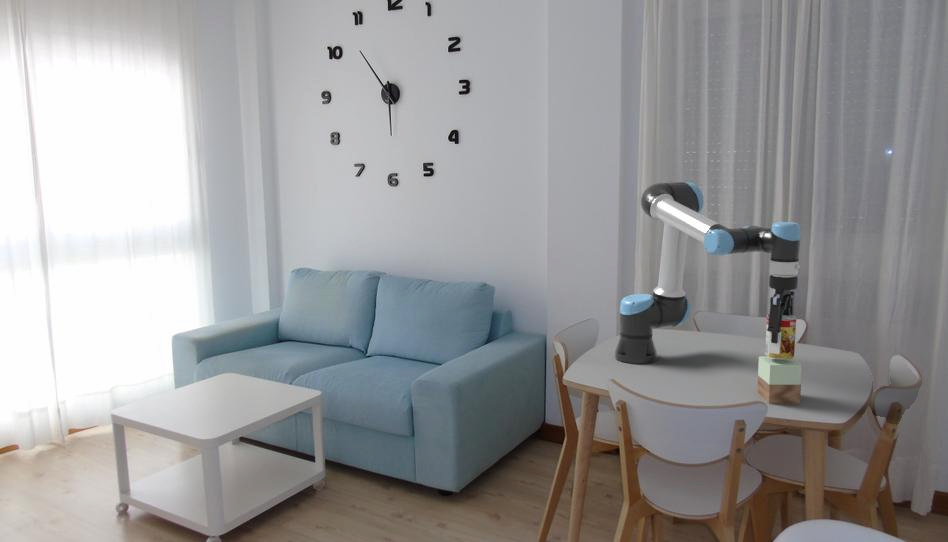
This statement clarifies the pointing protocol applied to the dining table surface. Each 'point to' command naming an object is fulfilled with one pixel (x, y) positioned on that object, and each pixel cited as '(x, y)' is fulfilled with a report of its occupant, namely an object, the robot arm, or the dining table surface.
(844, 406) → the dining table surface
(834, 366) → the dining table surface
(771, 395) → the walnut block
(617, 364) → the dining table surface
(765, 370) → the sage block
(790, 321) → the canned food
